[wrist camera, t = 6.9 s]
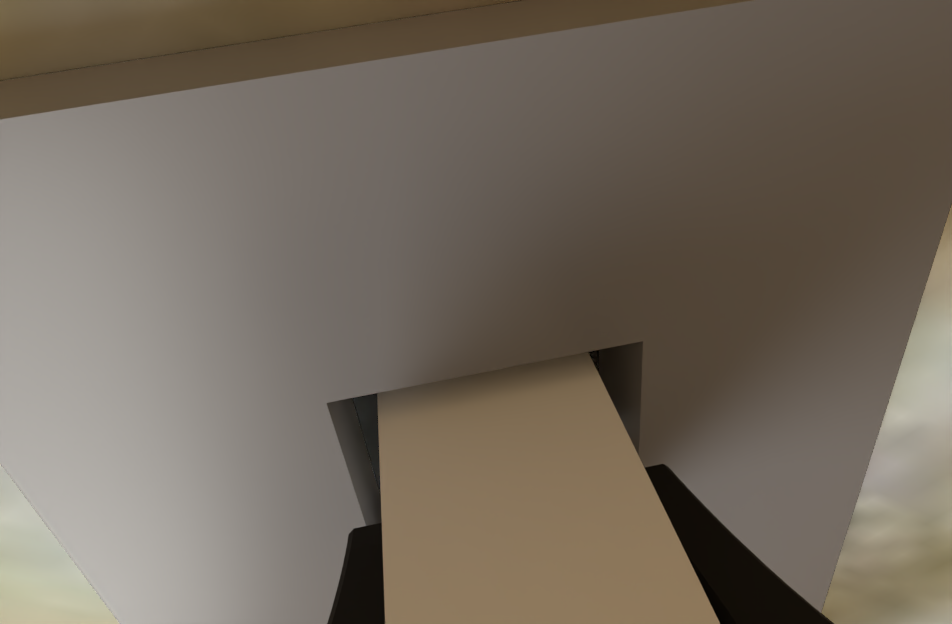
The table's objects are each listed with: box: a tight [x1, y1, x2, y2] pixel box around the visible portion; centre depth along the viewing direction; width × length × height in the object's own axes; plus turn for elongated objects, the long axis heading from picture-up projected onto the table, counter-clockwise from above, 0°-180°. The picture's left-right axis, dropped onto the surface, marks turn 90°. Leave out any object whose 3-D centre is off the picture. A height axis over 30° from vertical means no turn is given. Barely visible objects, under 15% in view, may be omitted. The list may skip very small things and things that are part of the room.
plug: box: [377, 352, 720, 624], centre depth 11 cm, size 4×4×7 cm
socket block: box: [0, 0, 952, 624], centre depth 14 cm, size 16×16×3 cm
